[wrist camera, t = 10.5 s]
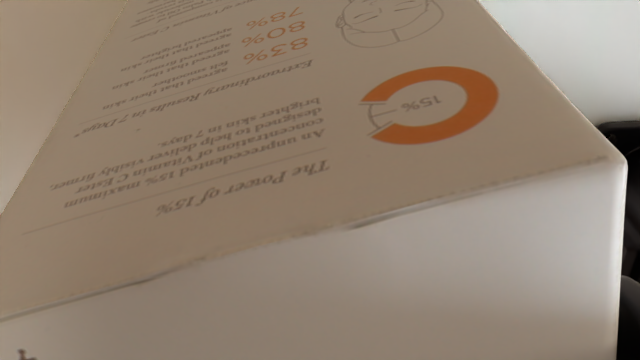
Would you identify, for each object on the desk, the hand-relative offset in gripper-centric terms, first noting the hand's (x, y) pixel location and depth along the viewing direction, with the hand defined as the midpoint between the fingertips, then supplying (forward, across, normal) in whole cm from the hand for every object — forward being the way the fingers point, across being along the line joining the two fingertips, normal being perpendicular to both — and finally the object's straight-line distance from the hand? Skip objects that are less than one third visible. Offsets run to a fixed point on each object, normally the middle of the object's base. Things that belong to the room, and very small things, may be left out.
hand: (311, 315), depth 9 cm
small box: (+12, 0, 0) cm, 12 cm away
